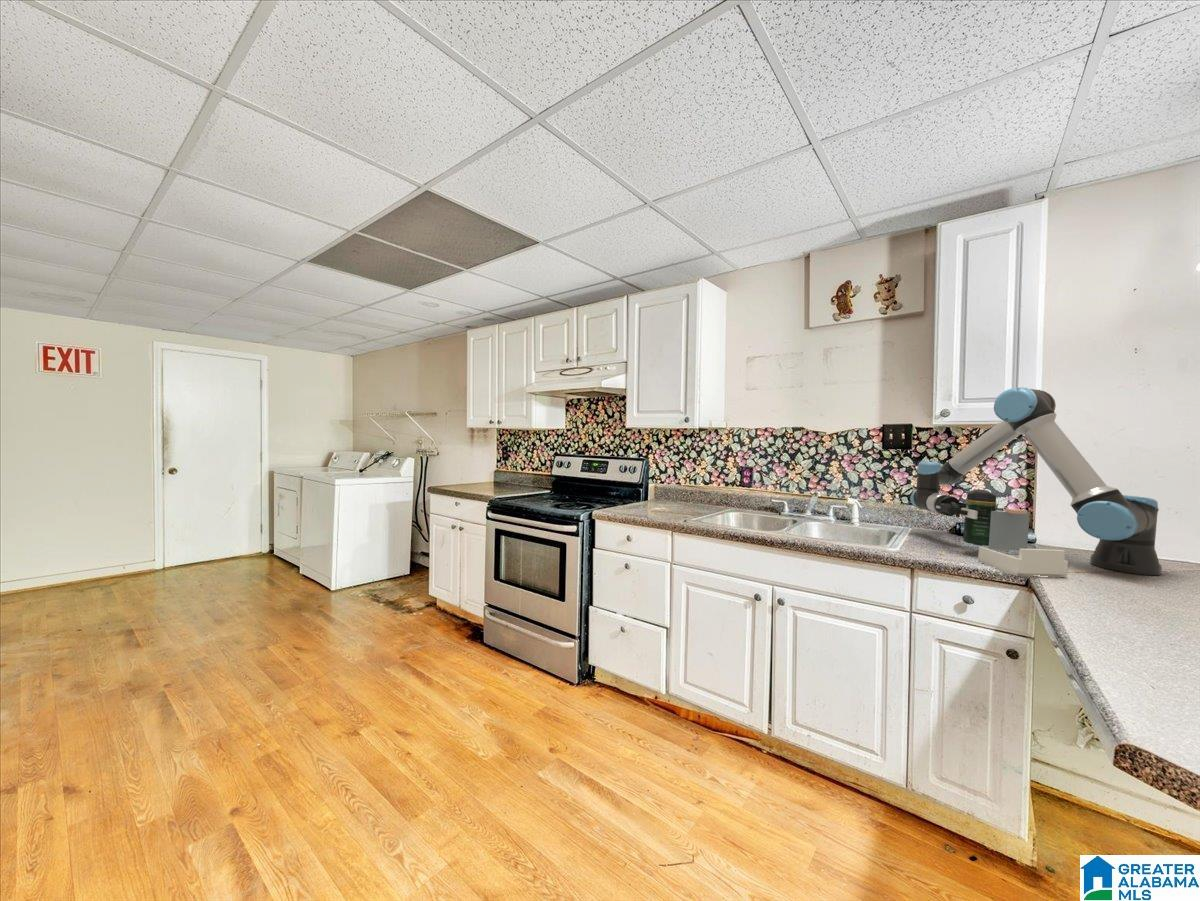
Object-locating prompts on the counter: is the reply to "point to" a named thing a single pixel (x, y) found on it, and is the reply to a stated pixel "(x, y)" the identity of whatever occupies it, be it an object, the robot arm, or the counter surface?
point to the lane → (1027, 562)
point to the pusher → (1009, 529)
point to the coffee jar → (979, 516)
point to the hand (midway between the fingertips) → (990, 515)
